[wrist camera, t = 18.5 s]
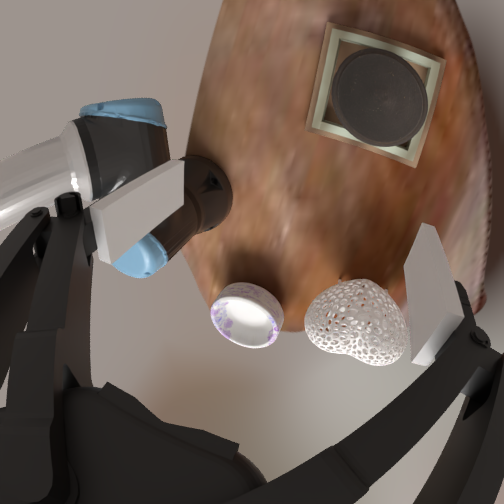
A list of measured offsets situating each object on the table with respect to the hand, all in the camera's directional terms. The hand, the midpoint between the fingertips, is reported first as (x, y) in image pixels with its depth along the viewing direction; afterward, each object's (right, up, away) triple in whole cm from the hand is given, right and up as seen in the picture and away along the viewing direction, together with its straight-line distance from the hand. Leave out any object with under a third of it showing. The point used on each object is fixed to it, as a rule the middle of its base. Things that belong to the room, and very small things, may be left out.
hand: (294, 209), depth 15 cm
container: (+16, +21, +21) cm, 33 cm away
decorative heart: (+19, -9, +40) cm, 45 cm away
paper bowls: (-1, -13, +53) cm, 54 cm away
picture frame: (+16, +21, +22) cm, 34 cm away
